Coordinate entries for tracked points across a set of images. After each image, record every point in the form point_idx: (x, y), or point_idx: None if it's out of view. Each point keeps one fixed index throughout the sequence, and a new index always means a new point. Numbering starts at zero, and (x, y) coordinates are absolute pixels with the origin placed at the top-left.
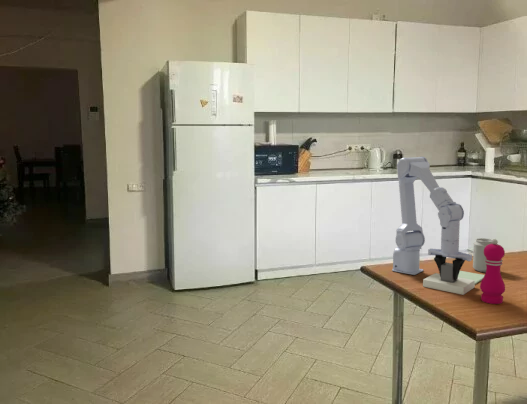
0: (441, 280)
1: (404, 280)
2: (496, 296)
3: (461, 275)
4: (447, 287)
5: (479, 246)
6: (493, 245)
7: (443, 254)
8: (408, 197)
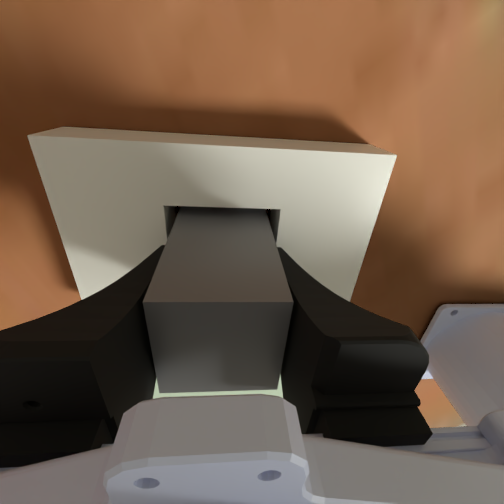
0: (262, 218)
1: (496, 198)
2: None
3: (234, 393)
4: (183, 138)
5: None
6: None
7: (258, 444)
8: None
